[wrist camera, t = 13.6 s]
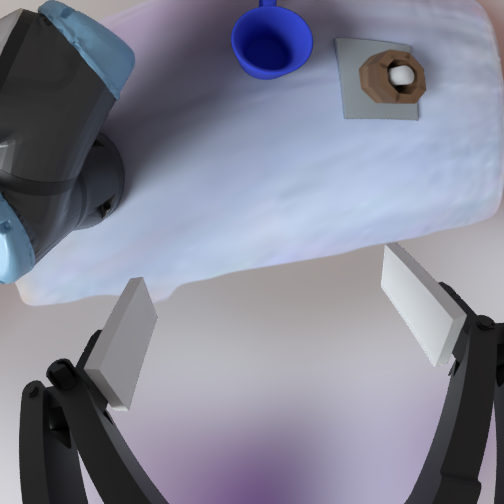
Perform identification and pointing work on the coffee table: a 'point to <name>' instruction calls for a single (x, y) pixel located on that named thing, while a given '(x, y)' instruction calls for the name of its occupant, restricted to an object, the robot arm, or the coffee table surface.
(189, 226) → the coffee table surface
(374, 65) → the ring
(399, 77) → the square plate with peg
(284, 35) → the mug
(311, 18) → the coffee table surface
